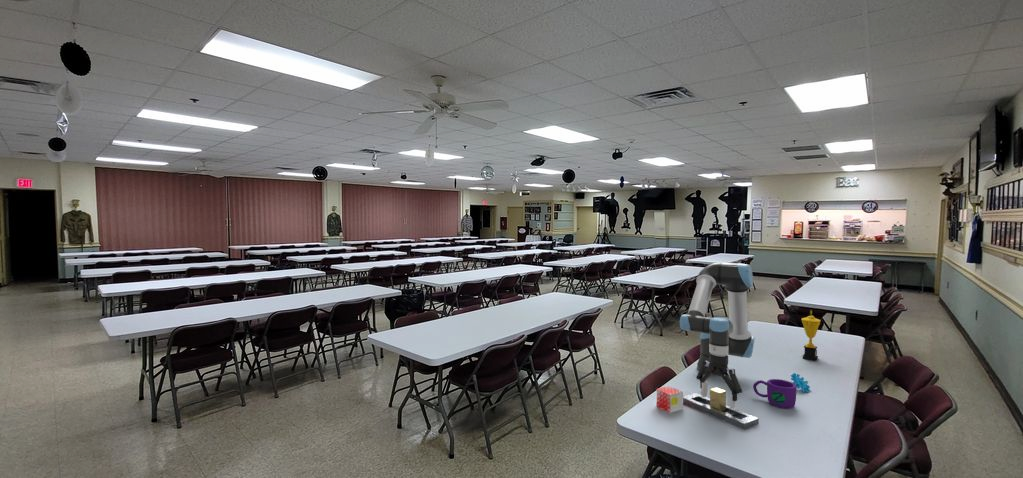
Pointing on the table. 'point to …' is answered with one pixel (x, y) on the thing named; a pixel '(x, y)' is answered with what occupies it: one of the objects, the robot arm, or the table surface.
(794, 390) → the mug
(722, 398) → the brass peg
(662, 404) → the red patterned cube
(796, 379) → the gear
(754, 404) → the table surface
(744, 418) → the rail
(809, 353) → the trophy
